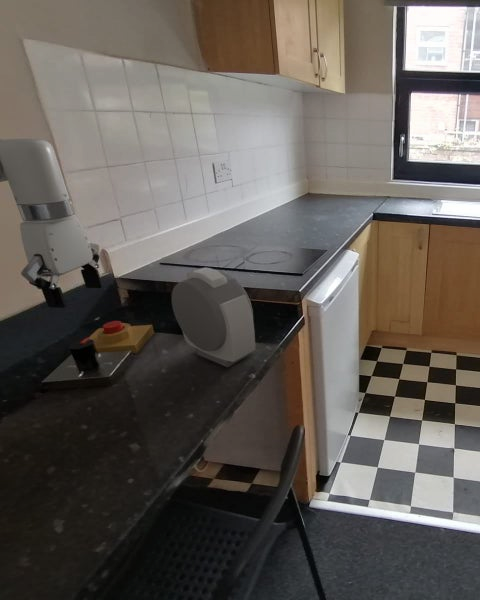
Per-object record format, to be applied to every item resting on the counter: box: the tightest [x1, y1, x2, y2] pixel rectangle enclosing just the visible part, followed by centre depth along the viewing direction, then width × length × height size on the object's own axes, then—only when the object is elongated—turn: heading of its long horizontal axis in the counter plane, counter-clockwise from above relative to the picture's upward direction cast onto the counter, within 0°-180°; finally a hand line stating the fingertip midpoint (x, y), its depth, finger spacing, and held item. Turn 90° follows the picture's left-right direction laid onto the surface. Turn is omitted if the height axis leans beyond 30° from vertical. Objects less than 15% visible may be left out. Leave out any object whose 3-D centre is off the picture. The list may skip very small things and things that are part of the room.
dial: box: [68, 337, 101, 370], centre depth 82 cm, size 4×4×5 cm
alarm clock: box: [171, 266, 256, 368], centre depth 86 cm, size 18×8×20 cm, turn 59°
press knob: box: [102, 320, 123, 334], centre depth 93 cm, size 4×4×2 cm
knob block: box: [88, 322, 155, 355], centre depth 94 cm, size 12×10×4 cm
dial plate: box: [41, 350, 134, 391], centre depth 83 cm, size 12×10×2 cm
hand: (77, 296), depth 81 cm, fingers open, 9 cm apart
